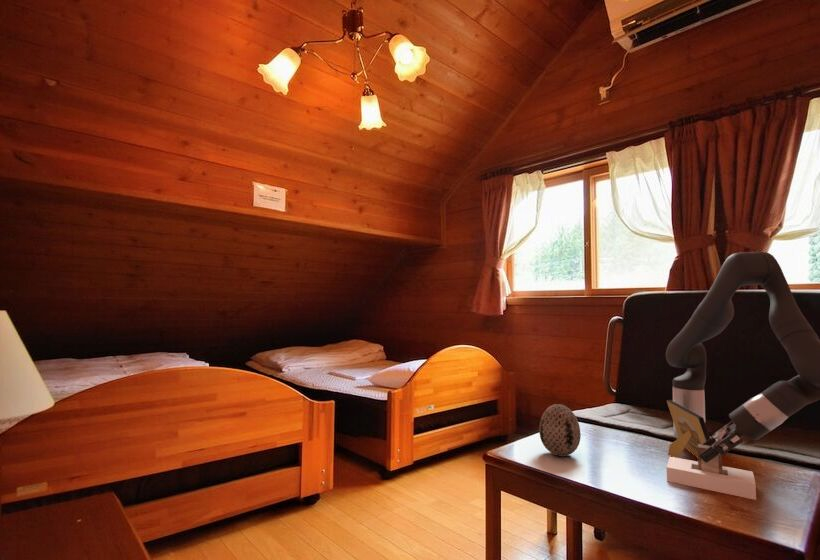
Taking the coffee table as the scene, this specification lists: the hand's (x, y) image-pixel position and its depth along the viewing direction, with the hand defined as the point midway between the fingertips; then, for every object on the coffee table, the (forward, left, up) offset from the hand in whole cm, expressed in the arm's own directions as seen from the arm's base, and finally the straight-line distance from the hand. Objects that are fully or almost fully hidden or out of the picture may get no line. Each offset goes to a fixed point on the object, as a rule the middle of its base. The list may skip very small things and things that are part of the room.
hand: (702, 454), depth 112 cm
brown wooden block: (0, +2, -6) cm, 6 cm away
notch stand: (0, +1, -7) cm, 7 cm away
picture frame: (-19, -5, -7) cm, 21 cm away
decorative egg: (+2, -36, -7) cm, 36 cm away
